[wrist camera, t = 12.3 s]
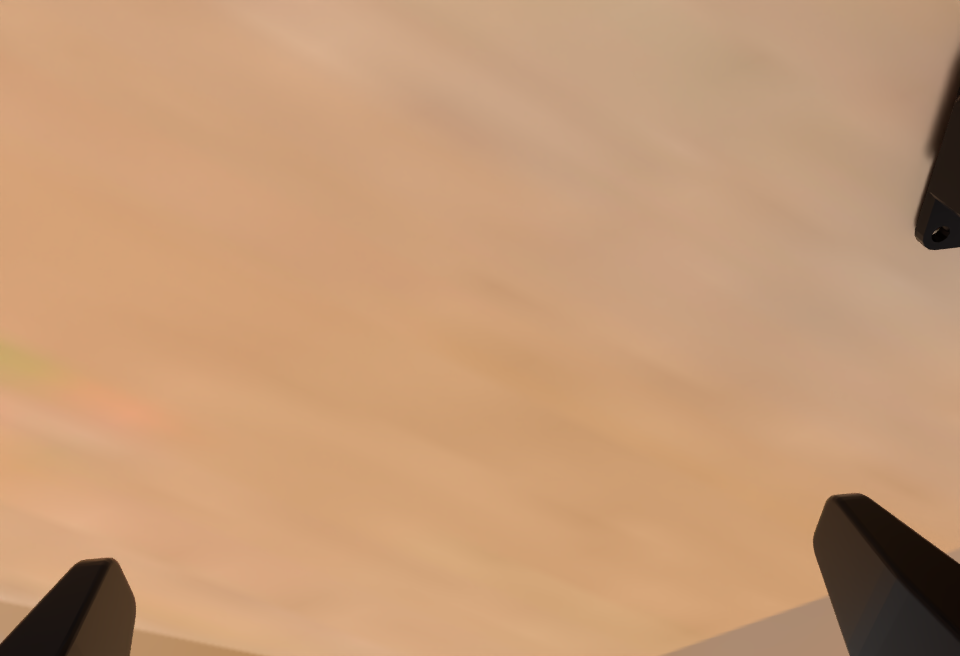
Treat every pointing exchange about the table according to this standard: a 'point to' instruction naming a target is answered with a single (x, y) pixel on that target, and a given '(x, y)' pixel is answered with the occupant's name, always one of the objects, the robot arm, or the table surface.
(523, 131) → the table surface
